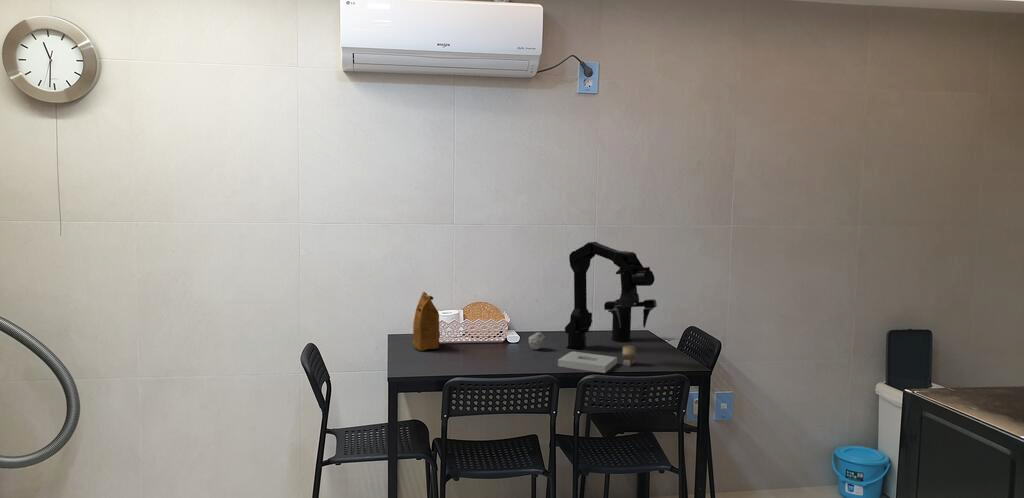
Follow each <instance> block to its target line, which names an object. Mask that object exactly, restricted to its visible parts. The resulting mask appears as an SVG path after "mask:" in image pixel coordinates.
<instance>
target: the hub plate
mask: <svg viewBox="0 0 1024 498" xmlns="http://www.w3.org/2000/svg"><path fill="white" fill-rule="evenodd" d="M617 363H618V357H616V356H611V355H601V354H596V353H595V354H593V353H587V352H579V351H573V350H572V351H570V352H568V353H566V354H565V355H564V356H562V357H560V358H559V359H557V367H561V368H567V369H574V370H580V371H581V370H582V371H588V372H589V371H590V372H595V373H603V374H606V373H607V372H608V371H609V370H610V369H612V368H614V367H615V366H616V365H617Z"/></svg>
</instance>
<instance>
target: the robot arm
mask: <svg viewBox="0 0 1024 498" xmlns="http://www.w3.org/2000/svg"><path fill="white" fill-rule="evenodd" d="M596 255H597V256H599V257H601V258H604V259H607V260H609V261H611V262H613V264H614V265H615V266H617V267H618V270H617V271H616V272H615V275H620V287H621V288H620V289H621V293H620V294H621V296H619V298H618V299H619V300H620V303H617V301H615V300H608V301H606V302H605V303H604V304H603V306H604V307H603V308H604V311H605V310H607V312H608V313H610V314H611V315H612V317H613V316H614V318H615V320H616V322H617V325H618V327H619V328H620V317H619V309H617V308H620V307H621V308H624V307H631V308H641V307H643V310H642V311H643V312H642V313H643V317H642V319H643V320H642V325H643V326H642V327H643V328H646V324H647V322H648V321H647V320H648V318H649V315H650V312H651V311H653V310H654V309H656V307H658V305H657V303H658V302H657V300H656V299H655V298H651V299H650V298H649V299H644V300H643V301H640V296H639V293H638V287H646V286H647V287H648V286H649V287H650V286H652V285H653V284H654V282H655V275H654V272H653V271H652V270H651V269H650V268H651V267H650V266H645V267H644V266H643V264H642V262H641V261H640V260H639V258H638V256H637V253H635V252H633V251H624V250H623V251H622V250H618V249H616V248H615V249H614V248H611V247H610V246H607V245H604V244H602V243H599V242H597V241H588V242H587V243H585V244H584V245H583V246H581V247H578V249H575V250H573V251H572V252H570V253H569V257H568V258H569V267H570V269H571V270H572V272H573V296H574V297H573V301H574V302H573V303H574V304H573V305H574V306H573V309H572V312H571V314H570V318H569V322H568V323H567V324H566V326H564V331H565V334H568V336H567V337H568V339H567V346H566V348H567V349H573V350H581V351H582V350H583V349H585V348H586V347H587V336H586V333H589V331H590V328H591V326H592V323H593V314H592V312H590V311H589V310H588V307H587V305H588V303H587V301H588V300H587V298H588V297H587V293H588V292H587V272H588V271H589V268H590V266H591V260H592V259H593V258H595V256H596Z"/></svg>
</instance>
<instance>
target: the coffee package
mask: <svg viewBox="0 0 1024 498" xmlns="http://www.w3.org/2000/svg"><path fill="white" fill-rule="evenodd" d="M432 300H434V296H432V295H428V293H427V292H425V291H422V293H421V296H420V298H419V300H418V303H417V305H416V309H415V311H414V312H415V313H414V319H413V328H412V329H413V332H412V334H413V335H412V343H413V347H414V349H415V348H416V349H415V350H417V349H418V351H420V352H422V351H429V350H435V349H439V348H440V345H439V344H440V338H441V332H440V313H439V311H438V310H437V307H436V305H434V303H433V301H432ZM428 349H429V350H428Z"/></svg>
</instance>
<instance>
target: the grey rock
mask: <svg viewBox="0 0 1024 498" xmlns="http://www.w3.org/2000/svg"><path fill="white" fill-rule="evenodd" d="M527 339H528V344H529V346H530V348H531V349H532V350H534V351H535V350H536V351H537V350H540V349H541V347H543V343H544V342H545V340H546V336H545V335H544V334H543V333H542V332H535V333H534V334H532V335H529V337H528V338H527Z"/></svg>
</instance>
